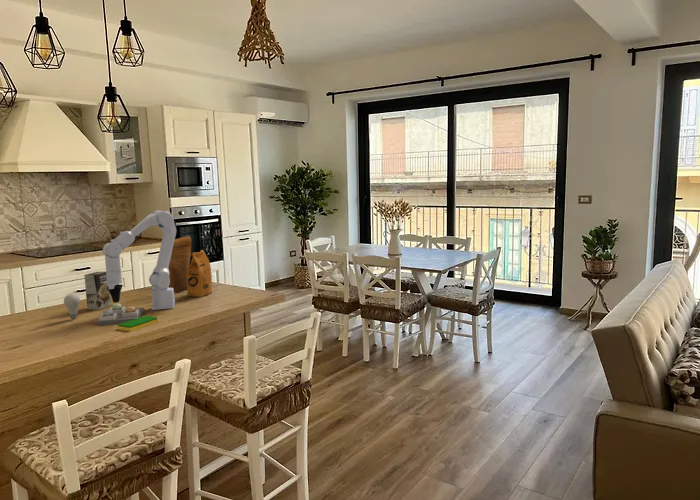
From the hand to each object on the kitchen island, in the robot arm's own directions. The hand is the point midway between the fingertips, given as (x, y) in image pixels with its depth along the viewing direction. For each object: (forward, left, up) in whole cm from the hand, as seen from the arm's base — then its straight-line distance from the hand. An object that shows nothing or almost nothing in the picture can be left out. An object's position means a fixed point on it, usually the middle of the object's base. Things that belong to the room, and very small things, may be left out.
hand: (116, 302), depth 218 cm
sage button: (0, 0, -3) cm, 3 cm away
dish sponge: (-11, +19, -7) cm, 23 cm away
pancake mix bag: (-23, -44, -6) cm, 50 cm away
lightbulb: (+17, 0, -6) cm, 18 cm away
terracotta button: (-6, +6, -3) cm, 10 cm away
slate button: (+2, +10, -3) cm, 11 cm away
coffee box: (+11, -19, -6) cm, 22 cm away
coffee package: (-33, -31, -6) cm, 45 cm away
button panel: (-3, +4, -6) cm, 8 cm away
